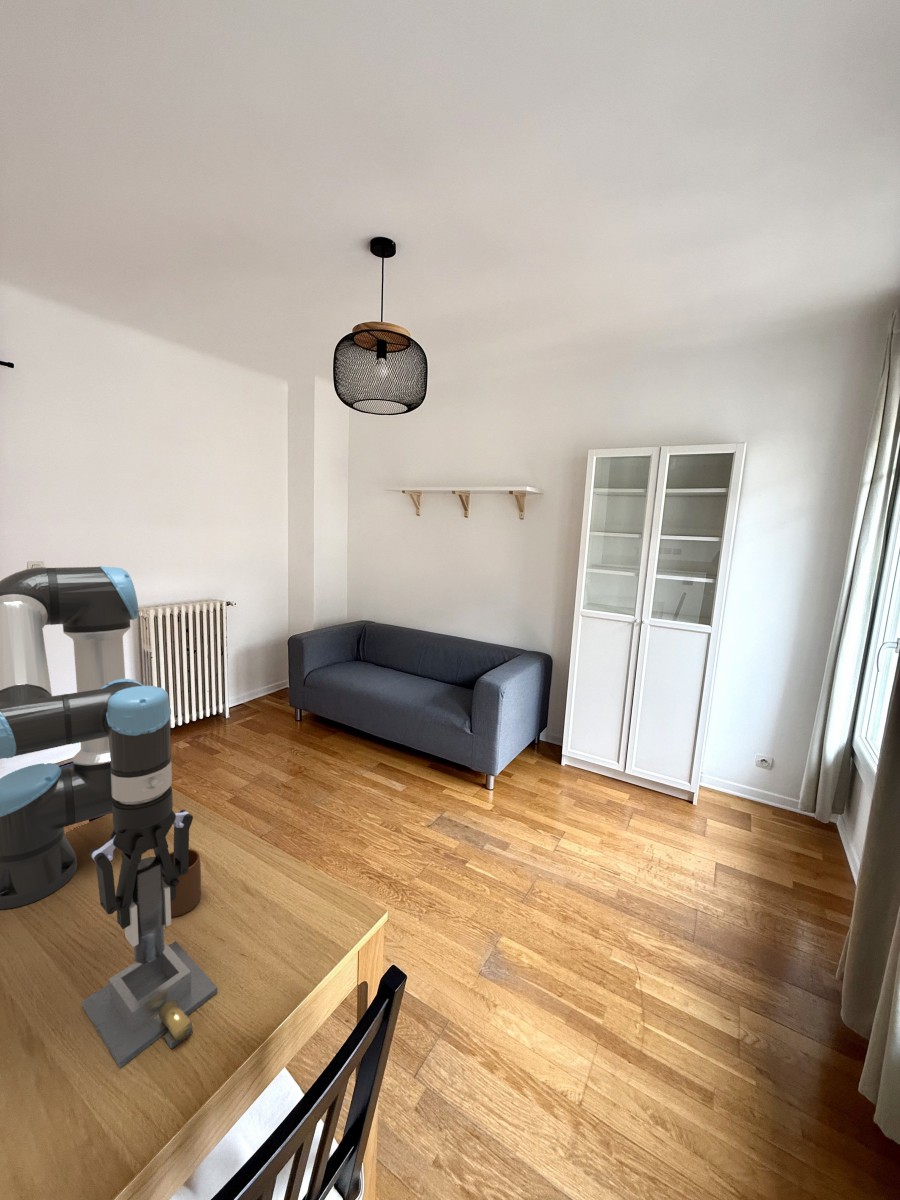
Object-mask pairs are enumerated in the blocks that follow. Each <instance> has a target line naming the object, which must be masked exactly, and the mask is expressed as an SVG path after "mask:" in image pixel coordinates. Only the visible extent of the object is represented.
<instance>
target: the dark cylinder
mask: <svg viewBox="0 0 900 1200" xmlns="http://www.w3.org/2000/svg"><path fill="white" fill-rule="evenodd" d="M132 901H133V902H134V903H135V904H136V905H137V919H138V941H139V944H138V945H136V946H134V947H133V951H134V952H133V954H134V961H135V962H137V963H140V964H145V963H149V962H152V961H154V960H155V959H157V958H158V957H159V956H160V955H161V954H162V953H163V951H164V949H165V943H166V942H165V925H164V915H163V888H162V862H161V861H160V860H159V859H158V858H157V857H155V856H149V857H148V856H147V857H145V858H141V861H140V863H139V864H138V868H137V874H136V879H135V885H134V890H133V896H132Z"/></svg>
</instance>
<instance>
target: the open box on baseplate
mask: <svg viewBox="0 0 900 1200" xmlns="http://www.w3.org/2000/svg"><path fill="white" fill-rule="evenodd" d="M217 994H218V986H217V985H216V984H215V983H214V982H213V981H212V980H211V979H210V977H209V976H208V975H207V974H206V973H205V972H204V970H202V969H201V967H200V966H199V965H198V964H197V963H196V962H195V961H194V959H192V957H191V956H190V955H189V954H188V953H187V951H185V950H184V948H183V947H182V946H181V945H180V944H179V943H178V942H177V941H176V940H175V941H173V942H171V943H170V944H168V943H166V942H165V949H164V951H163V953H162V954H161V955H160V956H159V957H158V958H157V959H155V960H154V961H152V962H149V963H145V964H140V963H137V962H136V961H135V962H134V963H132V964H130V965H129V966H127V967H126V968H124V969H123V970H121V971H119V972H117V973H116V974H115V975H113V976H111V977H110V978H109V979H108V984H106V985H105V986H102V988H100V989H99V990H97V991H95V992H94V993H92V994H90V995H89V996H88V997H86V998H84V999H83V1000H81V1007H82V1009H83V1010H84V1012H85V1013H86V1015H87V1017H88V1018H89V1019H90V1021H91V1023H92V1025H93V1027H94V1028H95V1030H96V1032H97V1033H98V1035H99V1037H100V1038H101V1040H102V1042H103V1043H104V1046H105V1047H106V1049H107V1050H108V1052H109V1053H110V1055H111V1057H112V1058H113V1060H114V1062H115V1063H116V1065H117V1067H118V1069H122V1068H123V1067H124V1066H125V1065H127V1064H128V1063H129V1062H131V1061H132V1060H133V1059H134V1058H136V1057H137V1056H138V1055H139V1054H141V1053H142V1052H143V1051H144V1050H145V1049H147V1048H148V1047H150V1046H151V1045H152V1044H154V1043H155V1042H156V1041H157V1040H159V1039H160V1038H161V1037H163V1036H164V1041H165V1042H166V1045H168V1046H169V1048H170V1049H171V1050H173V1049H174V1048H175V1047H177V1046H178V1045H179V1044H180V1043H181V1042H182V1041H183V1040H186V1039H187V1038H188V1037H189V1036H190V1035H192V1033H193V1026H192V1025H193V1023H192V1021H191V1019H190V1018H189V1017H188V1016H189V1015H191V1014H192V1013H193V1012H194V1011H196V1010H197V1009H199V1008H200V1007H201V1006H203V1004H205V1003H206V1002H207V1001H209V1000H210V999H211V998H213V997H214V996H215V995H217Z"/></svg>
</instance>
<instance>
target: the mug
mask: <svg viewBox="0 0 900 1200" xmlns="http://www.w3.org/2000/svg"><path fill="white" fill-rule="evenodd" d="M169 854H170V857H171V861H172V864H174V850H173V851H172V852H169ZM201 866H202V865H201V856H200V853H199V852H198V851H196V850H195V849H192V848H189V866H188V872H187V873H186V874H184V875H180V876H179V877H178V878H177V879H178V880H179V884H178V885H177V886H176V898H175V900H173V901H171V902H170V903H171V918H174V917H178V916H181V915H184V914H186V913H188V912H190V911H191V910H193V909H194V908H195V907H196V906H197V905H198V903H199V902H200V899H201V895H202V872H201V870H202V869H201V868H202V867H201ZM173 867H174V866H173ZM162 880H163V878H162Z"/></svg>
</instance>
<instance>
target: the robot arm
mask: <svg viewBox="0 0 900 1200" xmlns="http://www.w3.org/2000/svg"><path fill="white" fill-rule="evenodd" d="M139 615H140V614H139V602H138V598H137V593H136V589H135V585H134V583H133V580H132V578H131V576H130V574H129V573H128V571H127V570H125V569H124V568H122V567H117V566H116V567H113V566H112V567H111V566H101V565H100V566H88V567H87V566H86V567H85V566H80V567H78V566H77V567H76V566H75V567H72V566H70V567H66V566H65V567H47V566H46V567H32V568H28V569H23V570H20V571H16V572H14V573H13V574H10V575H8V576H6V577H5V578H3V579H1V580H0V760H1V759H10V758H13V757H17V756H23V755H27V754H31V753H35V752H41V751H45V750H49V749H53V748H59V747H64V746H67V745H74V744H79V743H80V749H79V751H78V752H77V753H76V754H75V755H74V756H73V758H72V766H71V767H66V768H63V769H61V767H60V765H58V764H56V763H54V762H53V763H51V762H50V763H49V762H48V763H43V762H42V763H35V764H32V765H27V766H25V767H22V768H19V769H17V770H14V771H12V772H10V773H7V774H6V775H4V776H2V777H0V910H6V909H7V910H8V909H13V908H17V907H18V908H19V907H22V906H23V907H24V906H25V905H29V904H32V903H34V902H37V901H39V900H42V899H43V898H46V897H48V896H49V895H51V894H53V893H55V892H56V891H58V890H59V889H61V888H62V887H64V886H65V885H66V884H67V883H68V882H69V881H70V880H71V879H72V878H73V877H74V875H75V874H76V872H77V870H78V869H77V868H78V859H77V854H76V852H75V850H74V849H73V847H72V845H71V843H70V842H69V840H68V839H67V837H66V835H65V828H67V827H68V826H73V825H75V824H79V823H82V822H85V821H90V820H93V819H96V818H100V817H103V816H104V817H105V816H106V815H107V816H108V815H111V814H112V824H113V830H112V832H111V835H110V837H109V841H107V842H106V843H105V844H104V845H102V846H101V847H100V848H99V847H97V846H95V847H93V848H92V849H91V850H90V851H89V856H90V857H91V859H92V860H93V861H94V863H95V867H96V876H97V885H98V893H99V895H98V896H99V902H100V906H101V907H102V909H103V910H104V911H105V913H106V914H107V915H112V914H114V913H115V912H116V917H117V919H116V921H117V923H118V925H119V926H120V928H122V930H124V936H125V940H127V942H128V943H129V944H130V945H131V946H132V948H134V946H136V945H138V944H139V941H138V919H137V905H136V904H135V903H134V902H133V901H132V896H133V890H134V885H135V879H136V874H137V868H138V864H139V863H140V861H141V860H142V856H143V854H145V853H147V852H148V851H150V850H153V852H154V857H157V858H158V859H159V860H160V861H161V862H162V878H163V880H162V888H163V915H164V927H165V928H167V927H168V926H170V925H172V917H171V903H170V902H171V901H173V900H175V898H176V886H177V885H178V884H179V880H178V879H177V878H178V877H179V876H180V875H184V874H186V873H187V872H188V866H189V849H190V828H191V825H192V822H193V820H194V817H193V815H192V814H191V813H189V812H188V811H187V810H186V809H181V810H180V811H178V812H174V811H173V808H174V807H173V806H174V804H173V803H174V802H173V787H172V783H173V780H172V779H173V777H172V776H173V775H172V772H173V771H172V756H171V755H172V750H171V716H172V709H171V707H170V699H169V698H170V697H169V694H168V692H167V690H166V689H165V688H162V687H157V686H156V685H143V684H142V683H141V682H139V681H136V680H134V679H130V678H126V668H125V653H124V635H125V634H126V633H127V632H128V631H129V630H130V629H131V621H134V620H136V619H138V618H139ZM52 625H53V626H55V625H62V631H63V634H64V635H66V636H67V637H69V638H70V639H72V641H73V654H74V667H75V681H76V692H72V693H64V694H57V695H53V694H52V688H51V681H50V672H49V666H48V659H47V658H48V657H47V653H46V645H45V636H44V630H43V629H44V628H45V626H52ZM172 826H173V851H174V864H172V861H171V857H170V854H169V853H170V851H169V844H168V841H167V838H166V836H168V833H169V831H170V830H171V828H172ZM115 849H119V850H120V851H121V859H122V860H121V864H120V871H119V875H118V881H117V886H116V887H115V885H116V884H115V878H114V868H113V864H112V862H111V861H112V860H113V859H114V850H115ZM173 866H174V867H173Z"/></svg>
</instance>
